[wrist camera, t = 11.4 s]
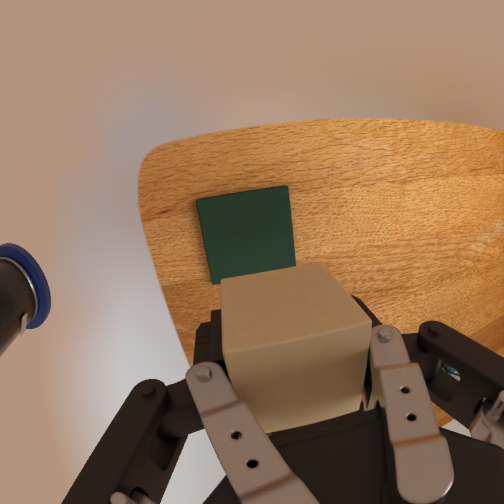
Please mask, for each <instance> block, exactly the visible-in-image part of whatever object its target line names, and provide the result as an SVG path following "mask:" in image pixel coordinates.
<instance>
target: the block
mask: <svg viewBox="0 0 504 504" xmlns="http://www.w3.org/2000/svg"><path fill="white" fill-rule="evenodd" d="M221 320H222V352H223V356H224V360H225V364H226V368H227V371H228V375H229V379H230V382H231V385H232V387H233V388H234V390H235V392H236V393H237V395H238V397H239V398H240V400H242V399H243V400H244V401H245V402H246V404H247V405H248V407H249V408H250V410H251V411H252V413H253V415H254V416H255V418H256V419H257V421H258V422H259V424H260V426H261V427H262V429H263V430H264V432H265V433H269V432H275V431H280V430H285V429H290V428H295V427H299V426H304V425H308V424H312V423H316V422H320V421H324V420H327V419H331V418H335V417H338V416H341V415H345V414H348V413H351V412H354V411H357V410H359V407H360V402H361V397H362V391H363V386H364V380H365V373H366V367H367V360H368V353H369V345H370V336H371V327H372V320H371V319H370V318H369V316H368V315H367V314H366V313H365V312H364V311H363V309H362V308H361V307H360V306H359V305H358V304H357V302H356V301H355V300H354V299H353V298H352V297H351V295H350V294H349V293H348V292H347V291H346V290H345V288H344V287H343V286H342V285H341V284H340V283H339V282H338V280H337V279H336V278H335V277H334V276H333V275H332V274H331V272H330V271H329V270H328V269H327V268H326V267H325V266H324V265H323V263H322V262H317V263H311V264H306V265H300V266H295V267H289V268H284V269H278V270H272V271H267V272H261V273H255V274H249V275H243V276H237V277H231V278H225V279H221Z"/></svg>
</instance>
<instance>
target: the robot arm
mask: <svg viewBox="0 0 504 504" xmlns="http://www.w3.org/2000/svg"><path fill="white" fill-rule="evenodd" d="M351 297H352V298H353V299H354V300H355V301H356V302H357V304H358V305H359V306H360V307H361V308H362V309H363V311H364V312H365V313H366V314H367V315H368V316H369V318H370V319H371V320H372V327H371V336H370V345H369V353H368V360H367V367H366V373H365V380H364V386H363V391H362V393H363V403H364V412H362V413H359V414H356V415H353V416H351V417H349V418H347V419H345V420H344V421H342V422H340V423H338V424H336V425H334V426H333V427H331V428H329V429H327V430H321V431H295V432H288V433H283V434H278V435H273V436H267V435H266V433H265V432H264V430H263V429H262V427H261V426H260V424H259V422H258V421H257V419H256V418H255V416H254V415H253V413H252V411H251V410H250V408H249V407H248V405H247V404H246V402H245V401H244V400H243V399H242V400H240V398H239V397H238V395H237V393H236V392H235V390H234V388H233V387H232V385H231V382H230V379H229V375H228V371H227V368H226V364H225V360H224V356H223V352H222V320H221V309H219V310H213V311H211V322H205V323H201V324H200V326H199V327H198V329H197V330H196V339H195V349H194V360H193V366H192V367H191V368H190V369H189V370H188V371H187V373H186V377H185V379H183V380H181V381H179V382H177V383H174V384H171V385H168V386H165V384H164V383H163V382H162V381H160V380H157V379H148V380H144V381H142V382H140V383H138V384H137V385H136V386H135V387H134V388H133V389H132V391H131V392H130V394H129V395H128V397H127V398H126V400H125V402H124V403H123V405H122V406H121V408H120V409H119V411H118V413H117V414H116V416H115V417H114V419H113V420H112V422H111V424H110V425H109V427H108V428H107V430H106V432H105V433H104V435H103V436H102V438H101V440H100V441H99V443H98V444H97V446H96V447H95V449H94V451H93V452H92V454H91V456H90V457H89V459H88V460H87V462H86V464H85V465H84V467H83V469H82V470H81V472H80V473H79V475H78V477H77V478H76V480H75V482H74V483H73V485H72V487H71V488H70V490H69V492H68V494H67V495H66V497H65V499H64V500H63V502H62V504H160V502H161V500H162V497H163V495H164V492H165V490H166V488H167V485H168V483H169V480H170V478H171V476H172V473H173V471H174V468H175V466H176V463H177V461H178V459H179V456H180V454H181V451H182V449H183V446H184V444H185V442H186V439H187V436H188V434H190V433H193V432H196V431H199V430H202V429H204V428H205V430H206V432H207V435H208V437H209V439H210V441H211V444H212V446H213V448H214V450H215V452H216V455H217V457H218V459H219V461H220V463H221V465H222V467H223V469H224V471H225V473H226V476H225V477H224V478H223V479H222V481H221V482H220V483H219V484H218V486H217V487H216V488H215V489H214V491H213V492H212V493H211V494H210V495H209V497H208V498H207V499H206V500H205V501H204V502H203V504H504V358H503V357H501V356H500V355H498V354H496V353H495V352H493V351H491V350H489V349H488V348H486V347H484V346H482V345H481V344H479V343H477V342H475V341H474V340H472V339H470V338H468V337H467V336H465V335H463V334H461V333H460V332H458V331H456V330H454V329H452V328H451V327H449V326H447V325H445V324H443V323H441V322H438V321H427V322H424V323H422V324H421V325H420V327H419V331H418V333H411V334H401V333H400V331H399V330H398V329H397V328H395V327H393V326H390V325H383V324H382V323H381V322H380V321H379V320H378V319H377V318H376V316H375V315H374V314H373V313H372V312H371V311H369V309H368V307H367V306H365V304H364V303H363V302H362V301H361V300H360V299H359V298H357V297H355V296H353V295H351ZM38 311H39V295H38V291H37V288H36V285H35V283H34V281H33V279H32V277H31V275H30V274H29V272H28V271H27V269H26V268H25V267H24V266H23V265H22V264H21V263H20V262H19V261H18V260H16V259H14V258H13V257H10V256H1V257H0V357H1V355H2V354H3V353H4V352H5V350H6V349H7V348H8V347H9V345H10V344H11V343H12V342H13V341H14V339H15V338H16V337H17V336H18V335H19V334H20V333H21V335H22V334H23V333H24V332H25V330H26V326H27V325H28V323H30V322H31V321H32V320H33V319H34V318H35V317H36V315H37V314H38ZM441 361H443V362H444V363H446V364H447V365H449V366H451V367H452V368H454V369H455V370H456V371H457V372H458V373H459V375H460V381H458V380H457V379H455V378H454V377H452V376H451V375H450V374H448V373H447V372H445V371H444V370H442V369H441V368H439V366H440V364H441ZM431 401H432V402H433V403H435V404H436V405H437V406H438V407H440V408H441V409H442V410H444V411H445V412H446V413H448V414H449V415H450V416H452V417H453V418H454V419H456V420H457V421H458V422H460V423H461V424H462V425H464V426H465V427H466V428H468V429H469V431H470V434H471V437H469V436H465V435H462V434H459V433H456V432H453V431H450V430H447V429H444V428H441V427H439V426H438V424H437V421H436V417H435V413H434V410H433V406H432V403H431Z"/></svg>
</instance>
